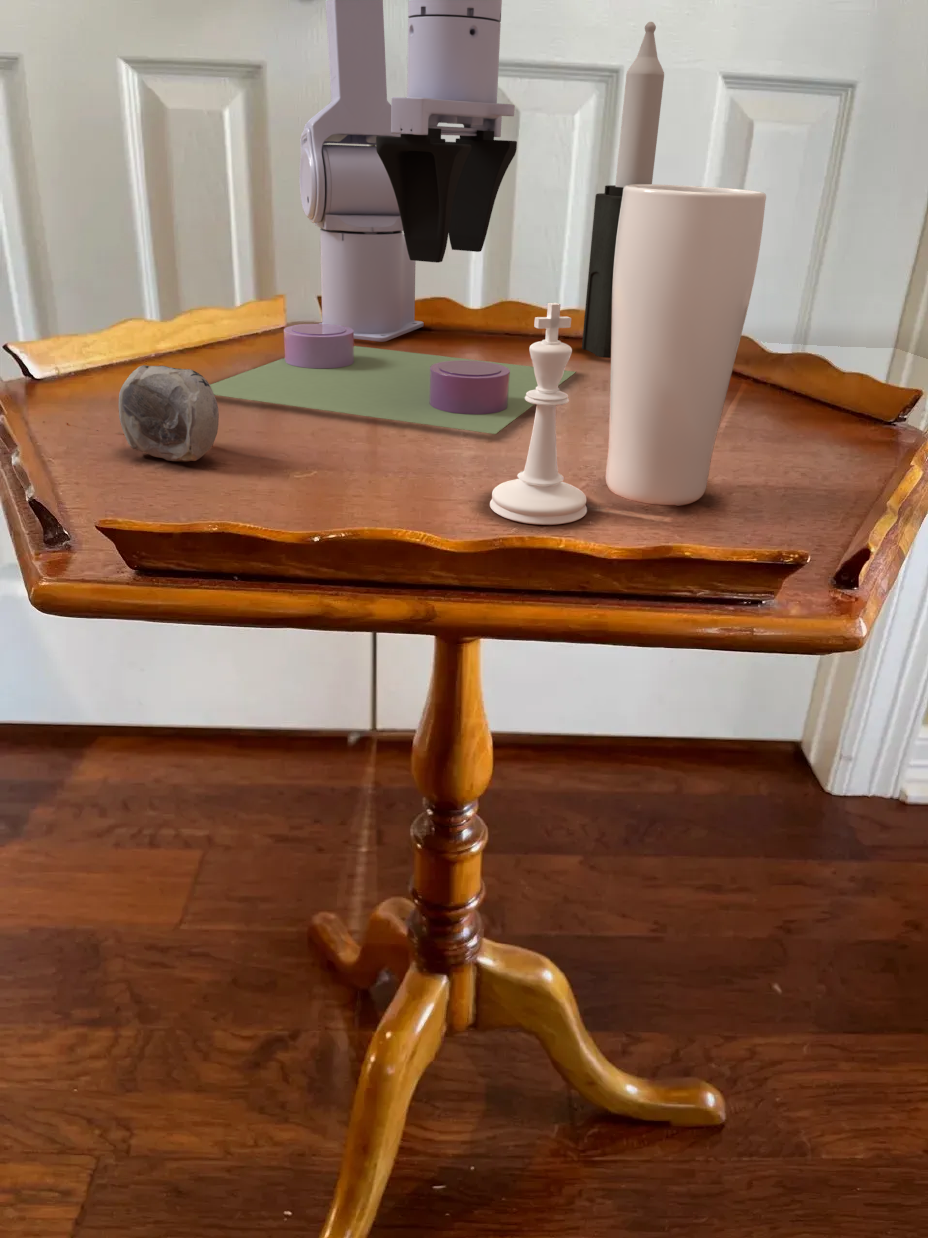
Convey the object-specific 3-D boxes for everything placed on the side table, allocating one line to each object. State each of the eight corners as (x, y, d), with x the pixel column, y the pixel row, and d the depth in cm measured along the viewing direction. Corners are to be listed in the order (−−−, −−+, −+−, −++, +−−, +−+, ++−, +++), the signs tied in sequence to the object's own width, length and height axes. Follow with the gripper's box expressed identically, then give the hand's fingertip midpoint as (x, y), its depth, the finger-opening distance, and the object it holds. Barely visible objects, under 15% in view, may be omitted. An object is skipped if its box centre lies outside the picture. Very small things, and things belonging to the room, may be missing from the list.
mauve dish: (445, 391, 71) (447, 356, 69) (518, 400, 69) (520, 364, 68) (416, 408, 66) (417, 370, 65) (493, 418, 64) (495, 380, 63)
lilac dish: (305, 351, 81) (304, 320, 80) (365, 358, 79) (365, 327, 78) (271, 363, 76) (270, 330, 75) (334, 371, 75) (334, 338, 74)
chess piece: (604, 519, 49) (627, 311, 45) (513, 529, 47) (528, 313, 43) (559, 488, 53) (576, 294, 49) (474, 496, 51) (484, 296, 47)
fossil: (107, 455, 55) (96, 364, 53) (146, 440, 58) (137, 353, 56) (204, 472, 53) (197, 379, 51) (240, 456, 56) (234, 367, 54)
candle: (577, 348, 88) (606, 21, 77) (629, 347, 89) (665, 26, 78) (601, 361, 84) (635, 15, 73) (655, 359, 85) (697, 21, 74)
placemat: (326, 345, 85) (326, 342, 85) (575, 375, 78) (576, 371, 78) (191, 395, 68) (191, 391, 68) (495, 438, 61) (495, 433, 61)
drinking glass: (580, 472, 56) (608, 181, 49) (698, 474, 56) (741, 187, 50) (604, 514, 50) (639, 189, 43) (735, 516, 50) (790, 196, 44)
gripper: (476, 7, 53) (465, 271, 60) (549, 33, 66) (534, 250, 72) (358, 6, 56) (359, 262, 62) (450, 32, 68) (444, 243, 74)
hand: (447, 255), depth 67 cm, fingers open, 7 cm apart
